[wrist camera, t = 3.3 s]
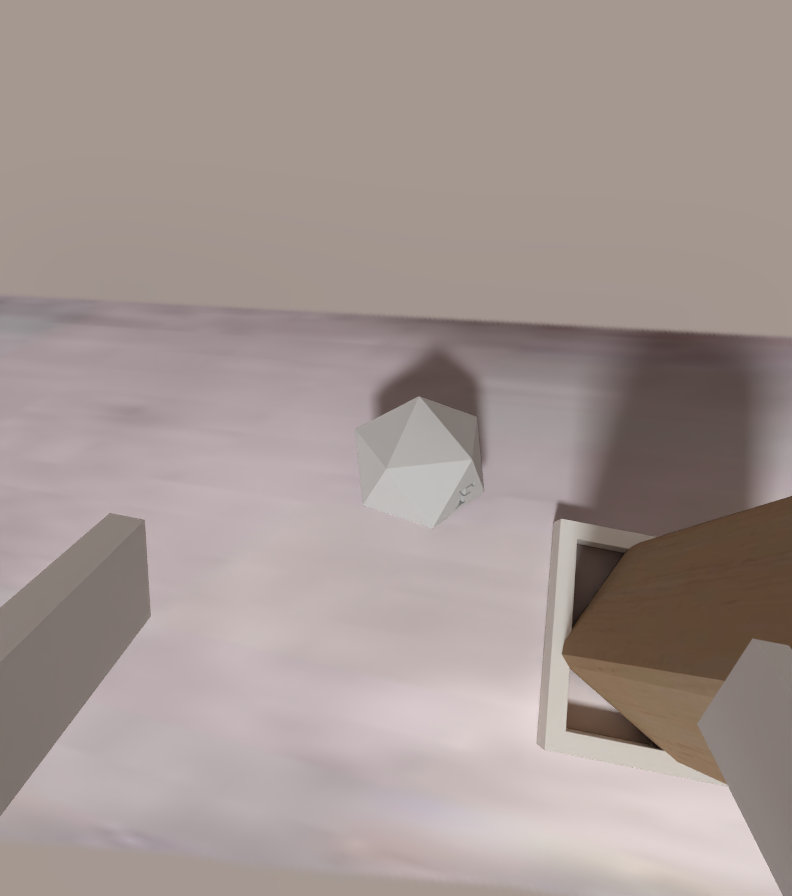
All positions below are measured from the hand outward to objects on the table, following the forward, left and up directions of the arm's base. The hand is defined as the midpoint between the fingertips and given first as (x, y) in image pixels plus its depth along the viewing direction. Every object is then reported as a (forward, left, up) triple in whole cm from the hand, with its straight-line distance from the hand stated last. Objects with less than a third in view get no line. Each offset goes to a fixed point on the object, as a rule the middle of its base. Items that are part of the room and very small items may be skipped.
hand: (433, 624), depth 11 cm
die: (0, -10, -24) cm, 26 cm away
